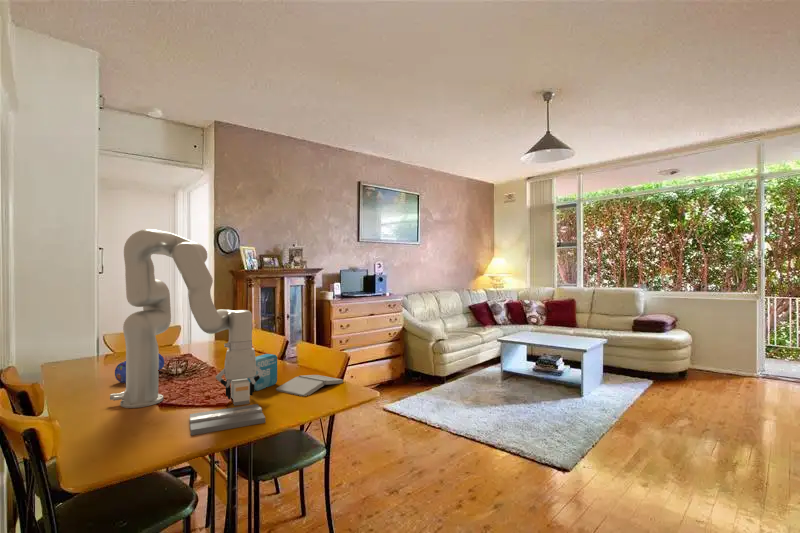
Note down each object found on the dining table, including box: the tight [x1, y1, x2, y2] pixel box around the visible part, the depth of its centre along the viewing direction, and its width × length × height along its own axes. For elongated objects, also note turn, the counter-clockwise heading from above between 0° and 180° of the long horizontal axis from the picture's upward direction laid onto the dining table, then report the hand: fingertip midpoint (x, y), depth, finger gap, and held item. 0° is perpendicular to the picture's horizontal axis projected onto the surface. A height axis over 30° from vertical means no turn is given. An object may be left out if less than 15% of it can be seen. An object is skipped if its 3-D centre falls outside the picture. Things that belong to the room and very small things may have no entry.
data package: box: [247, 353, 278, 392], centre depth 160 cm, size 12×4×12 cm, turn 156°
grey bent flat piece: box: [275, 374, 344, 397], centre depth 161 cm, size 23×15×4 cm, turn 149°
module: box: [230, 378, 251, 407], centre depth 142 cm, size 5×9×7 cm, turn 29°
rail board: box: [189, 403, 266, 436], centre depth 124 cm, size 20×14×2 cm
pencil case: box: [114, 353, 165, 384], centre depth 174 cm, size 22×9×10 cm, turn 178°
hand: (240, 395), depth 142 cm, fingers open, 6 cm apart
